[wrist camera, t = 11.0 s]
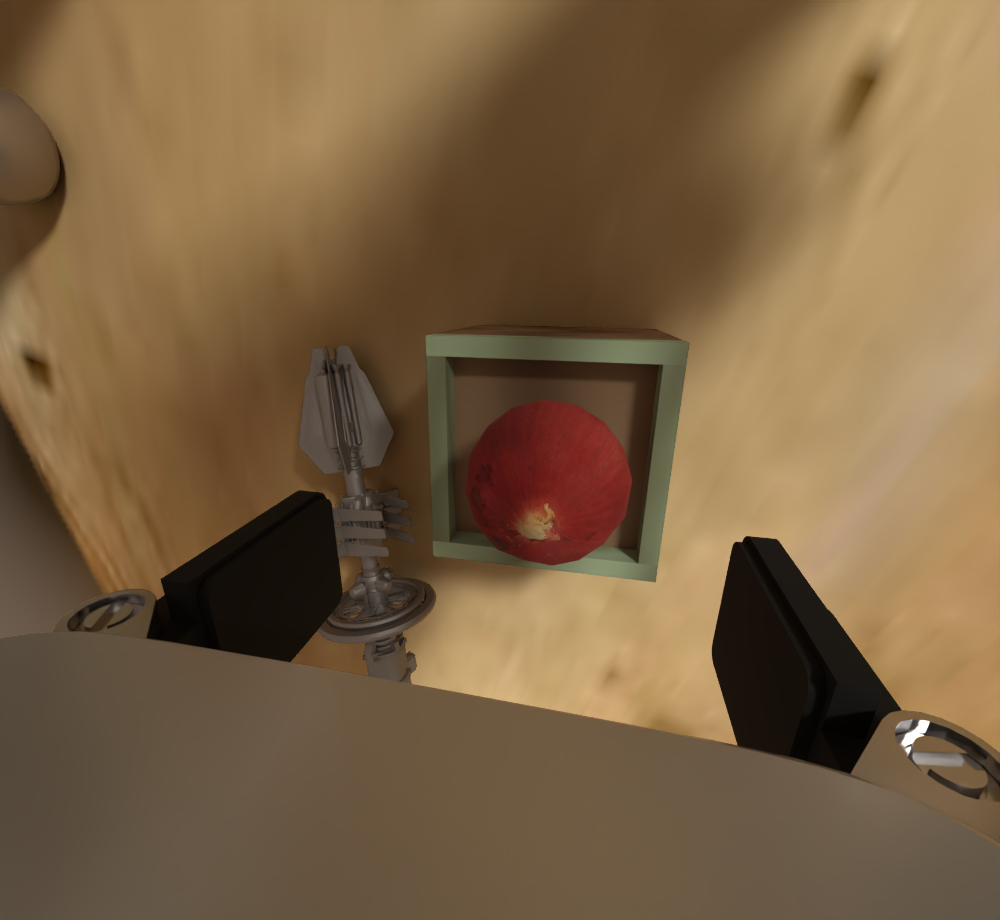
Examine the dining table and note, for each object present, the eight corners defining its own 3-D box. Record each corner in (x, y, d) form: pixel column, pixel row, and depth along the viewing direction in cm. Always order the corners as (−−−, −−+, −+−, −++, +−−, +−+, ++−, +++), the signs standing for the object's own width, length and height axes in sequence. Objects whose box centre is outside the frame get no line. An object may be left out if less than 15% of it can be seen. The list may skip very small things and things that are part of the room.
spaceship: (340, 844, 34) (418, 905, 29) (231, 357, 27) (311, 338, 23) (416, 763, 40) (490, 803, 36) (343, 352, 34) (422, 337, 29)
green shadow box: (655, 329, 26) (689, 343, 17) (635, 504, 30) (653, 598, 20) (483, 324, 28) (425, 335, 19) (482, 490, 31) (433, 570, 22)
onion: (542, 534, 22) (512, 654, 14) (465, 437, 21) (390, 511, 13) (652, 466, 20) (683, 564, 12) (570, 356, 19) (550, 389, 11)
